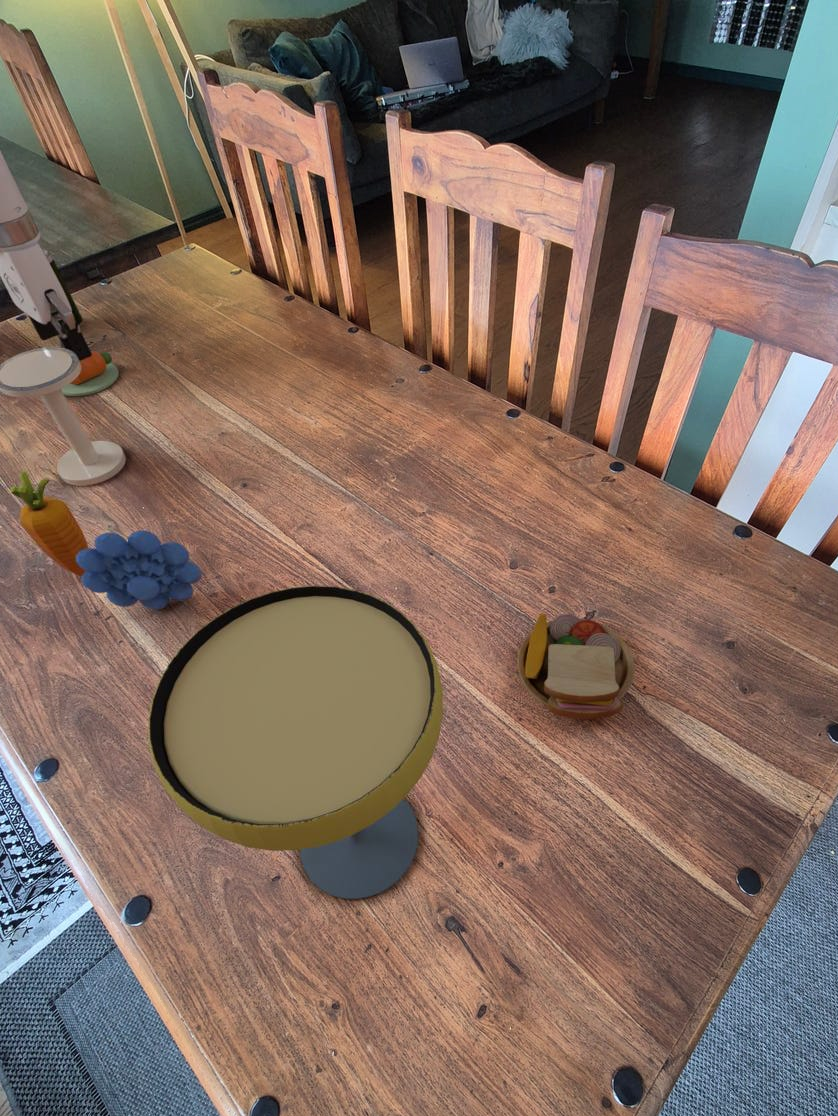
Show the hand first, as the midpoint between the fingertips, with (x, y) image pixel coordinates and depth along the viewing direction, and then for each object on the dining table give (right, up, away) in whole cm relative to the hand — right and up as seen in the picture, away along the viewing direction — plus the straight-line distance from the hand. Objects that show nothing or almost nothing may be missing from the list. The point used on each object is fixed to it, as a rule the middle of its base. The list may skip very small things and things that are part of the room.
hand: (66, 347), depth 105 cm
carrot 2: (+1, -2, +4) cm, 4 cm away
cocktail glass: (+55, -65, -44) cm, 95 cm away
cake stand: (+10, -21, -10) cm, 25 cm away
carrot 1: (+17, -39, -23) cm, 48 cm away
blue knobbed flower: (+28, -43, -27) cm, 58 cm away
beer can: (-9, +10, +15) cm, 20 cm away
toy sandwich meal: (+76, -50, -33) cm, 97 cm away
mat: (+1, -3, +4) cm, 5 cm away
